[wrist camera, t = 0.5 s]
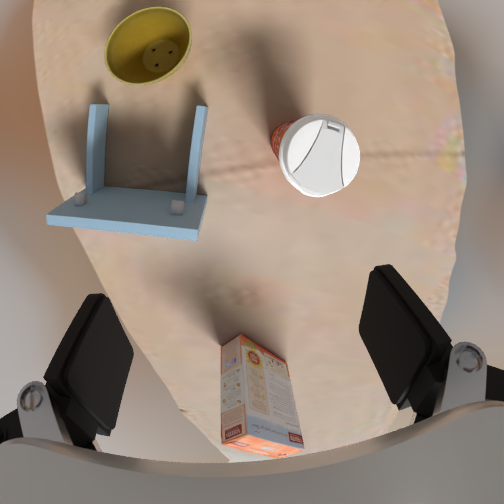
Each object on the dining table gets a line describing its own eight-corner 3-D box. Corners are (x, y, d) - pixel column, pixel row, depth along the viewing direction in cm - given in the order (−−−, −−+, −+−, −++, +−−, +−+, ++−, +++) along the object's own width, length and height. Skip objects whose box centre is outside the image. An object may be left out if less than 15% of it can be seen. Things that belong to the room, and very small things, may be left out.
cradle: (94, 105, 29) (45, 106, 18) (219, 108, 32) (214, 103, 21) (90, 193, 35) (47, 224, 24) (206, 203, 37) (197, 241, 27)
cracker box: (218, 347, 51) (218, 445, 32) (241, 331, 49) (248, 434, 31) (266, 375, 56) (278, 460, 38) (287, 362, 54) (306, 450, 36)
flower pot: (120, 39, 25) (99, 26, 19) (191, 15, 25) (183, -5, 18) (132, 100, 30) (111, 98, 23) (205, 77, 29) (199, 68, 23)
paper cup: (270, 108, 32) (293, 102, 20) (324, 123, 33) (374, 130, 21) (256, 163, 35) (271, 190, 23) (310, 176, 37) (350, 209, 24)
